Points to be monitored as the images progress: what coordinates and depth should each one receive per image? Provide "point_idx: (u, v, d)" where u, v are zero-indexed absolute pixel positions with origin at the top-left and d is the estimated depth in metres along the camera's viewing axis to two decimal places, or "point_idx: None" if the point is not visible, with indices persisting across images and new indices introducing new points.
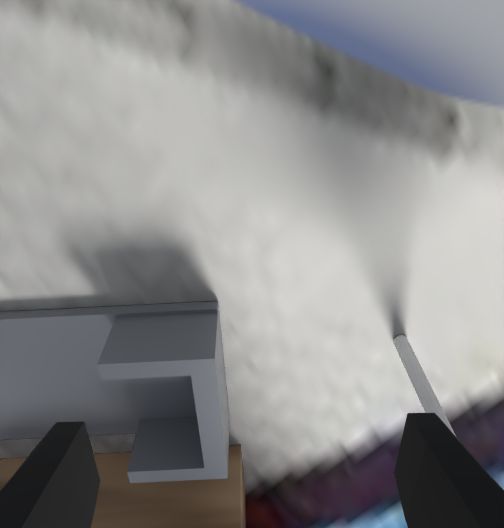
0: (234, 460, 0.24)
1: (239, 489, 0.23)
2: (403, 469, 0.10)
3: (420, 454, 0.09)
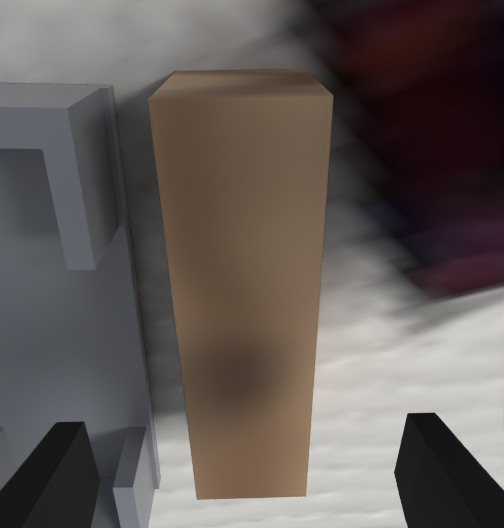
0: None
1: (161, 87, 0.12)
2: (403, 469, 0.10)
3: (420, 454, 0.09)
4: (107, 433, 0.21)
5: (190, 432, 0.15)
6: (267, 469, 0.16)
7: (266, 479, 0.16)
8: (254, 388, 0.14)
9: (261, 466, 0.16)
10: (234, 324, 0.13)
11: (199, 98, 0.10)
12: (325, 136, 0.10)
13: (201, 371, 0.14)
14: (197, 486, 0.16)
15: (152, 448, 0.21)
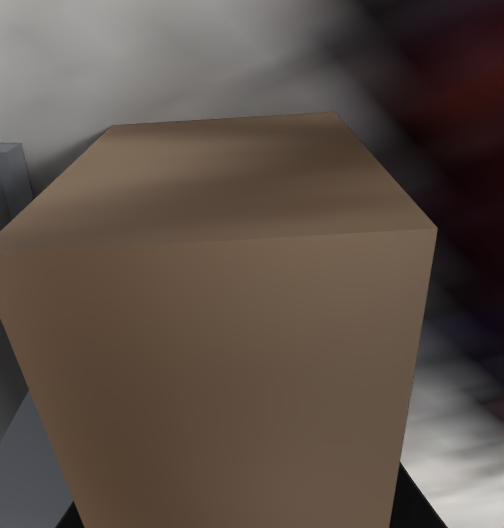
0: None
1: None
2: None
3: None
4: None
5: None
6: None
7: None
8: None
9: None
10: None
11: (103, 246, 0.04)
12: (411, 310, 0.04)
13: None
14: None
15: None
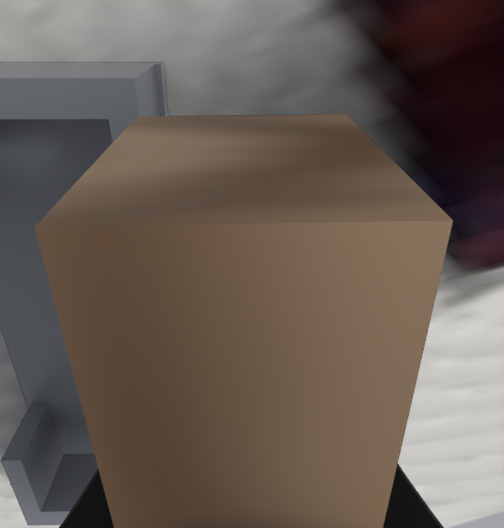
0: None
1: None
2: None
3: None
4: None
5: None
6: None
7: None
8: None
9: None
10: None
11: (152, 224, 0.04)
12: (424, 295, 0.05)
13: None
14: None
15: None
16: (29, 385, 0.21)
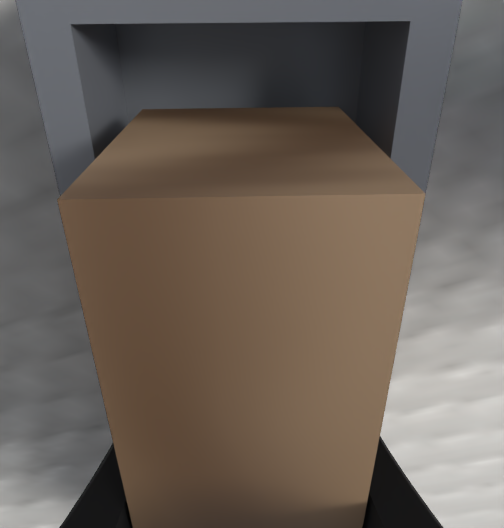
0: None
1: None
2: None
3: None
4: None
5: None
6: None
7: None
8: None
9: None
10: (228, 526, 0.08)
11: (160, 197, 0.05)
12: (402, 262, 0.05)
13: None
14: None
15: None
16: None
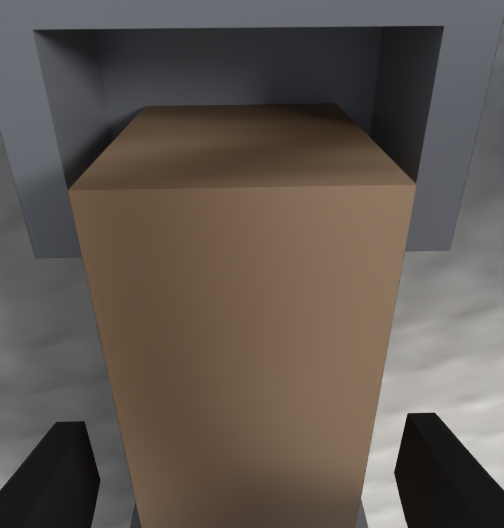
0: None
1: None
2: (403, 469, 0.10)
3: (420, 454, 0.09)
4: None
5: None
6: None
7: None
8: None
9: None
10: (229, 508, 0.08)
11: (165, 188, 0.05)
12: (395, 250, 0.06)
13: None
14: None
15: None
16: None
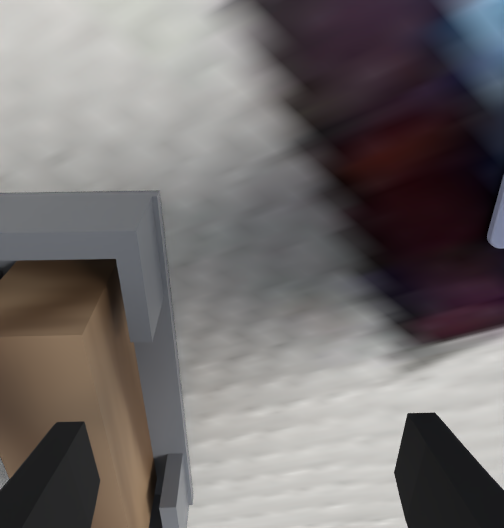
0: None
1: None
2: (403, 469, 0.10)
3: (420, 454, 0.09)
4: None
5: None
6: None
7: None
8: None
9: None
10: None
11: None
12: (84, 356, 0.14)
13: None
14: None
15: (187, 471, 0.25)
16: None
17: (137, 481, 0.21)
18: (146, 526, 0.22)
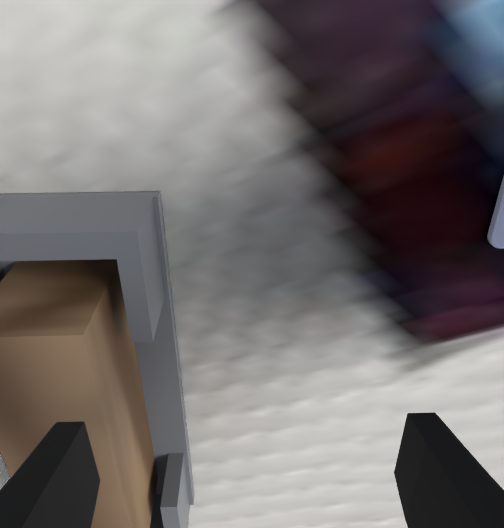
0: None
1: None
2: (403, 469, 0.10)
3: (420, 454, 0.09)
4: None
5: None
6: None
7: None
8: None
9: None
10: None
11: None
12: (85, 356, 0.15)
13: None
14: None
15: (188, 470, 0.25)
16: None
17: (138, 481, 0.21)
18: (147, 525, 0.22)
